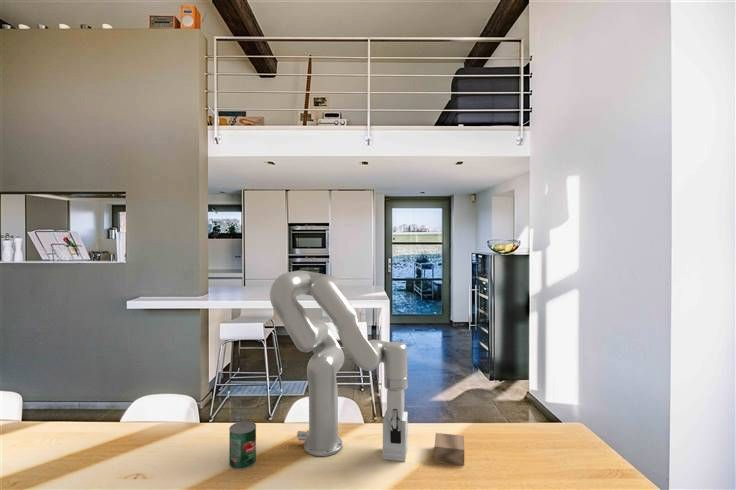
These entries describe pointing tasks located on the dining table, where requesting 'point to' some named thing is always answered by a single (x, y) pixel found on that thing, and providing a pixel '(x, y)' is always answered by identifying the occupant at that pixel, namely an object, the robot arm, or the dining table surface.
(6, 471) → the dining table surface
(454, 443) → the walnut block
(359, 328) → the robot arm
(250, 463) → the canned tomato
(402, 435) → the supplement box
